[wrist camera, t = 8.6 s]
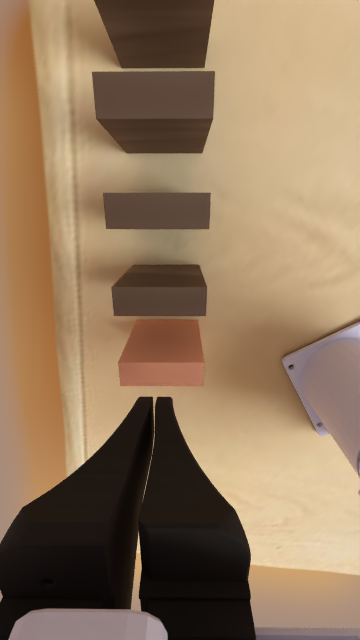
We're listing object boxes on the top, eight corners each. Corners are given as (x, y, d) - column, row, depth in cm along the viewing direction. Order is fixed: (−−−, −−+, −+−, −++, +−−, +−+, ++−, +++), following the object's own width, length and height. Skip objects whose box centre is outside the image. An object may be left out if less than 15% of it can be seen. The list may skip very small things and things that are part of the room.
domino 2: (202, 153, 18) (213, 118, 12) (127, 153, 18) (96, 118, 12) (202, 124, 18) (214, 71, 11) (125, 124, 18) (91, 71, 11)
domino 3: (200, 224, 20) (209, 229, 13) (131, 224, 20) (106, 228, 13) (200, 200, 19) (210, 192, 13) (130, 200, 19) (103, 192, 13)
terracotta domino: (197, 337, 23) (203, 385, 16) (138, 337, 23) (120, 385, 17) (197, 319, 22) (204, 362, 16) (136, 319, 23) (118, 362, 16)
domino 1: (204, 67, 17) (218, -29, 10) (122, 68, 17) (82, -28, 10) (205, 33, 16) (220, -92, 10) (119, 33, 16) (77, -92, 10)
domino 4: (198, 285, 21) (205, 316, 15) (134, 285, 21) (114, 315, 15) (199, 264, 21) (206, 287, 14) (133, 264, 21) (111, 287, 14)
